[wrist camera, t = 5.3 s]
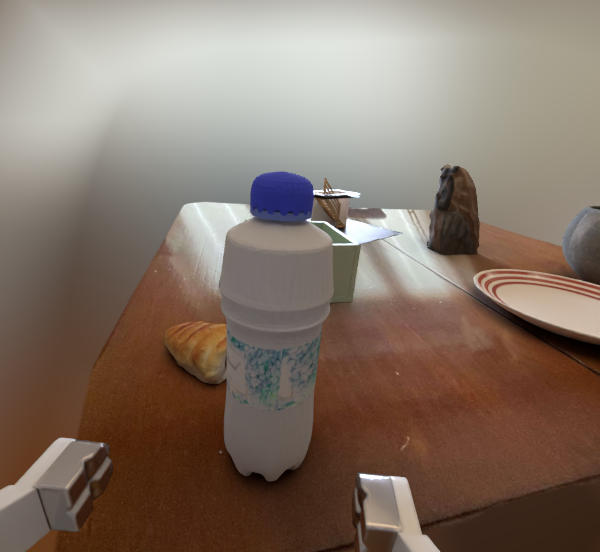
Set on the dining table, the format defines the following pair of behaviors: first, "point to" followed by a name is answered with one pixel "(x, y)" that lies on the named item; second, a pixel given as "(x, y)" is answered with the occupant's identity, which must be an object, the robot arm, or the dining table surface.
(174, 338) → the pastry
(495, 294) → the dinner plate
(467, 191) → the brown carved statue
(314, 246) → the bottle
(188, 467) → the dining table surface
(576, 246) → the bowl
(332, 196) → the architectural model
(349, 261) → the open storage bin
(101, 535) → the dining table surface
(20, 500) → the robot arm
